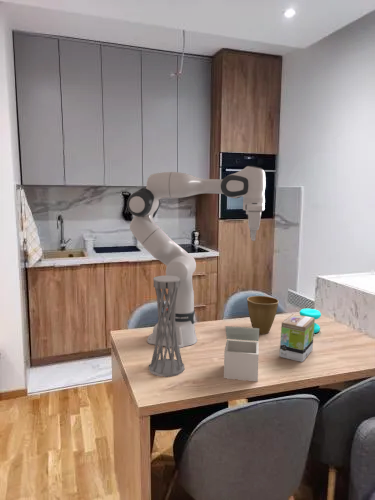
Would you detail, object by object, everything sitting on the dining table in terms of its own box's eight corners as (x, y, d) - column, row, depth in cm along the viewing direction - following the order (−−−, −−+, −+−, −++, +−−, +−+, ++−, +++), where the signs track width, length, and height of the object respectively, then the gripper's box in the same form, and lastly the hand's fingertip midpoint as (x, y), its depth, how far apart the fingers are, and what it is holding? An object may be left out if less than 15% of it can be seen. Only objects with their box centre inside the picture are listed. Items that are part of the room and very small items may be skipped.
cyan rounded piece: (323, 309, 188) (318, 315, 179) (322, 329, 189) (317, 335, 181) (302, 306, 193) (297, 311, 184) (301, 325, 194) (296, 331, 186)
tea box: (303, 362, 151) (305, 326, 149) (278, 357, 156) (280, 322, 154) (313, 350, 163) (315, 316, 161) (290, 345, 169) (291, 312, 167)
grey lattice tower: (149, 361, 151) (148, 274, 146) (183, 360, 152) (183, 274, 147) (148, 377, 138) (147, 282, 133) (185, 376, 139) (186, 282, 134)
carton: (223, 378, 137) (224, 351, 136) (226, 364, 149) (226, 339, 148) (257, 381, 135) (258, 354, 134) (257, 366, 147) (258, 341, 146)
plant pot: (259, 339, 176) (260, 305, 173) (240, 329, 188) (240, 297, 186) (284, 333, 183) (285, 301, 181) (263, 324, 196) (264, 294, 193)
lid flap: (225, 327, 137) (225, 326, 138) (226, 338, 147) (226, 337, 148) (259, 329, 135) (259, 328, 136) (258, 341, 145) (258, 339, 146)
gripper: (245, 205, 169) (244, 236, 171) (246, 206, 149) (245, 241, 151) (260, 205, 168) (259, 236, 170) (263, 206, 148) (261, 242, 150)
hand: (252, 239), depth 160 cm, fingers open, 8 cm apart
